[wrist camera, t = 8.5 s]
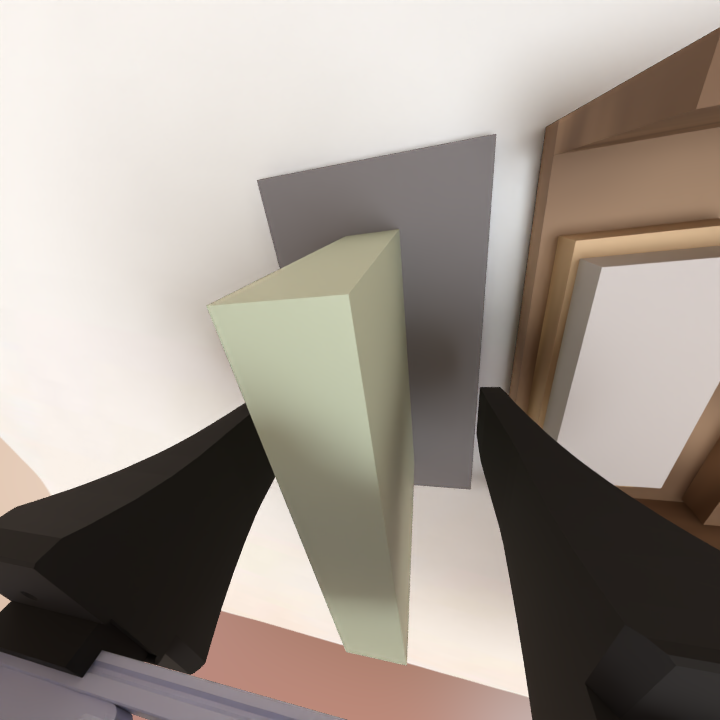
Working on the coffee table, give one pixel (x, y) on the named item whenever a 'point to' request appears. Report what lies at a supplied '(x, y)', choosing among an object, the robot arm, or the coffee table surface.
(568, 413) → the offcut upper
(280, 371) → the pale green long block
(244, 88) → the coffee table surface
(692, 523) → the rack
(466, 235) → the grey flat panel
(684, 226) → the offcut lower
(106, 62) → the coffee table surface
